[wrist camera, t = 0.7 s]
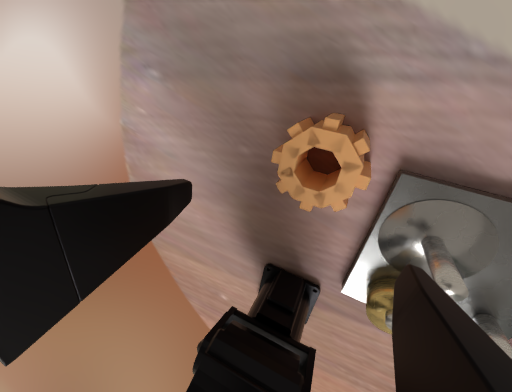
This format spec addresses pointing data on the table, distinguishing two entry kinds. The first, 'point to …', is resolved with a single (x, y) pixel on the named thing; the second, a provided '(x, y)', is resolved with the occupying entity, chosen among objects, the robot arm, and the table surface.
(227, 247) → the table surface
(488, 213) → the carrier
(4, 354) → the robot arm
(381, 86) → the table surface
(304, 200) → the gear
